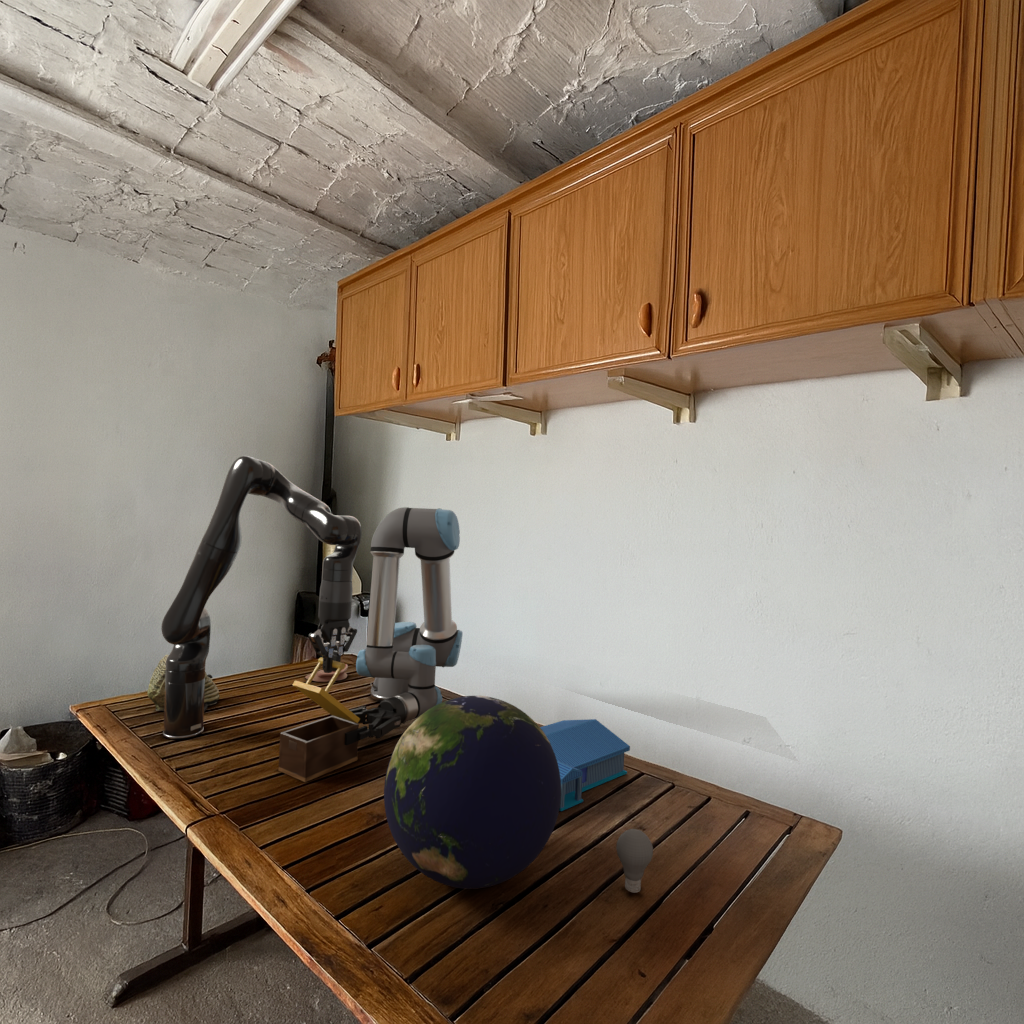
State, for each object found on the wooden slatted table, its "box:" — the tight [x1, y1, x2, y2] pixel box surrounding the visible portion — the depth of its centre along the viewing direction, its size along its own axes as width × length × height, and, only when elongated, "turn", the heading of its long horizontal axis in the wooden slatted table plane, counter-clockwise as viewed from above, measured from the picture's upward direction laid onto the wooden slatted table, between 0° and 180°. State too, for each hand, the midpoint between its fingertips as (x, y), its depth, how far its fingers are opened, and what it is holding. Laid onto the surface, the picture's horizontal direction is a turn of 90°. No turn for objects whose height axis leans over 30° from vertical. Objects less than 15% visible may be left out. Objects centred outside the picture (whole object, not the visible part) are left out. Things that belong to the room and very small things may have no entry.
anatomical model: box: [304, 663, 349, 683], centre depth 219 cm, size 13×4×12 cm
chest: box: [278, 715, 360, 783], centre depth 149 cm, size 15×9×9 cm, turn 147°
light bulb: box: [615, 828, 654, 894], centre depth 106 cm, size 6×6×10 cm
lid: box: [292, 656, 360, 724], centre depth 152 cm, size 16×9×9 cm
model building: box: [539, 718, 631, 812], centre depth 145 cm, size 39×24×10 cm, turn 132°
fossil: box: [147, 654, 221, 712], centre depth 185 cm, size 9×18×15 cm, turn 132°
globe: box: [383, 694, 561, 890], centre depth 108 cm, size 30×30×30 cm
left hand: (331, 671), depth 151 cm, fingers closed
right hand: (331, 734), depth 152 cm, fingers closed on chest, 9 cm apart
